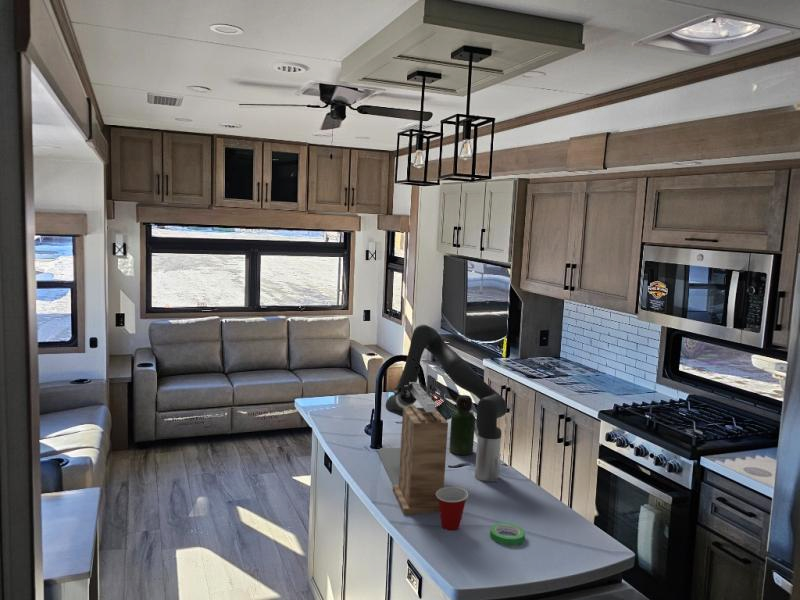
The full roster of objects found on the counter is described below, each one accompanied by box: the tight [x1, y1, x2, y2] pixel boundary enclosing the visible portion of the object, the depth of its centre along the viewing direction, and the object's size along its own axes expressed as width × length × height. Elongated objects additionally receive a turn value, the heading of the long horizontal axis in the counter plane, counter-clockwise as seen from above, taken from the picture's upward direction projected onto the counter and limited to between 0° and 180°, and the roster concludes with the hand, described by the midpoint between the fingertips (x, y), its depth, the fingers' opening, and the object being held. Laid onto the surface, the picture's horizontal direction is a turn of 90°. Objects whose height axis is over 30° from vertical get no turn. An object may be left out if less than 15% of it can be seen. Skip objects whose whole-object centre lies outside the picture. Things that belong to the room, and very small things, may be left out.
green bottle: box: [448, 394, 476, 456], centre depth 290 cm, size 10×10×25 cm
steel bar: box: [409, 381, 436, 412], centre depth 240 cm, size 28×3×3 cm, turn 12°
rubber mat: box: [376, 447, 401, 486], centre depth 270 cm, size 42×14×1 cm, turn 12°
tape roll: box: [489, 522, 526, 547], centre depth 215 cm, size 11×11×3 cm
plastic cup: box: [436, 486, 469, 532], centre depth 219 cm, size 11×11×12 cm
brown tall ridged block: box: [392, 404, 449, 515], centre depth 237 cm, size 20×16×33 cm
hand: (416, 385), depth 248 cm, fingers closed on steel bar, 3 cm apart
